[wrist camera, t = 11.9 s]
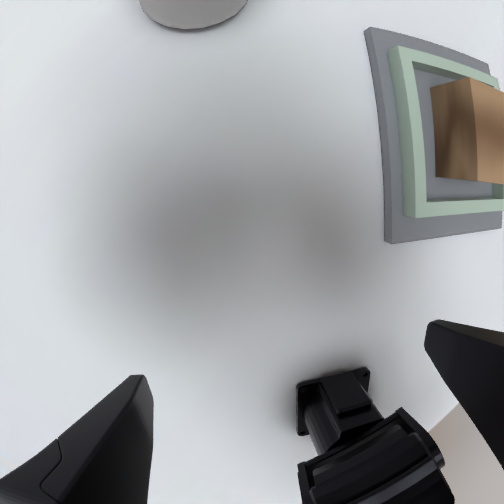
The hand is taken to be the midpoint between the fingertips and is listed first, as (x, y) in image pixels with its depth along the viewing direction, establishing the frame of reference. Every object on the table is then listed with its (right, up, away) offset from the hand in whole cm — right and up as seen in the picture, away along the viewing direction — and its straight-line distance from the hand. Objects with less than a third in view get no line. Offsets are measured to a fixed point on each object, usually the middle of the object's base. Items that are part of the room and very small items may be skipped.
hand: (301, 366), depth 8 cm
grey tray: (+14, +13, +11) cm, 22 cm away
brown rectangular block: (+15, +12, +10) cm, 22 cm away
